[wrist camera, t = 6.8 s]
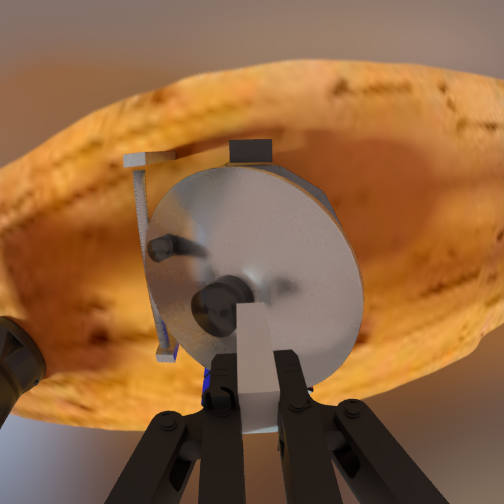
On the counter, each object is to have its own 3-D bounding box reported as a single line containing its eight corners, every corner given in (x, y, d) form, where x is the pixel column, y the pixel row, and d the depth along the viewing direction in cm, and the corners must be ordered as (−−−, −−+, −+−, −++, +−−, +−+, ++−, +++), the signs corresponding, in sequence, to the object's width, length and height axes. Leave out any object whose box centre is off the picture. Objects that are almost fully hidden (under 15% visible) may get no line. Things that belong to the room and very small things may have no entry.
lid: (164, 341, 27) (137, 362, 24) (139, 170, 22) (99, 177, 18) (343, 401, 19) (328, 439, 16) (379, 171, 14) (373, 176, 10)
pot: (176, 307, 37) (158, 365, 26) (160, 148, 30) (122, 148, 19) (311, 301, 38) (336, 357, 27) (316, 143, 31) (356, 140, 20)
